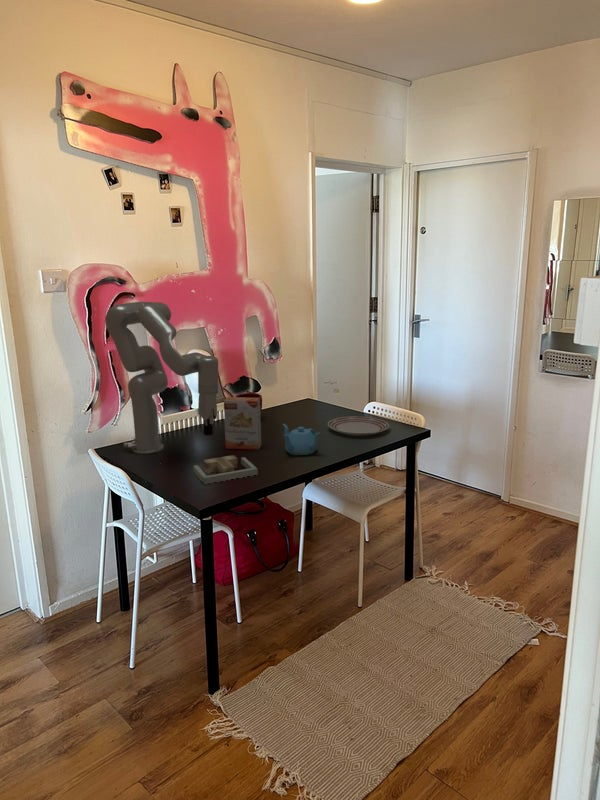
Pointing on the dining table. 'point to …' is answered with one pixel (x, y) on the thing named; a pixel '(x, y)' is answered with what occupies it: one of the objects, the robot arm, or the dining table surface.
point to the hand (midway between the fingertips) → (208, 434)
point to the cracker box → (242, 423)
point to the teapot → (300, 441)
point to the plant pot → (252, 395)
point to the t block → (221, 464)
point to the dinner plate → (358, 425)
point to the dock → (249, 471)
